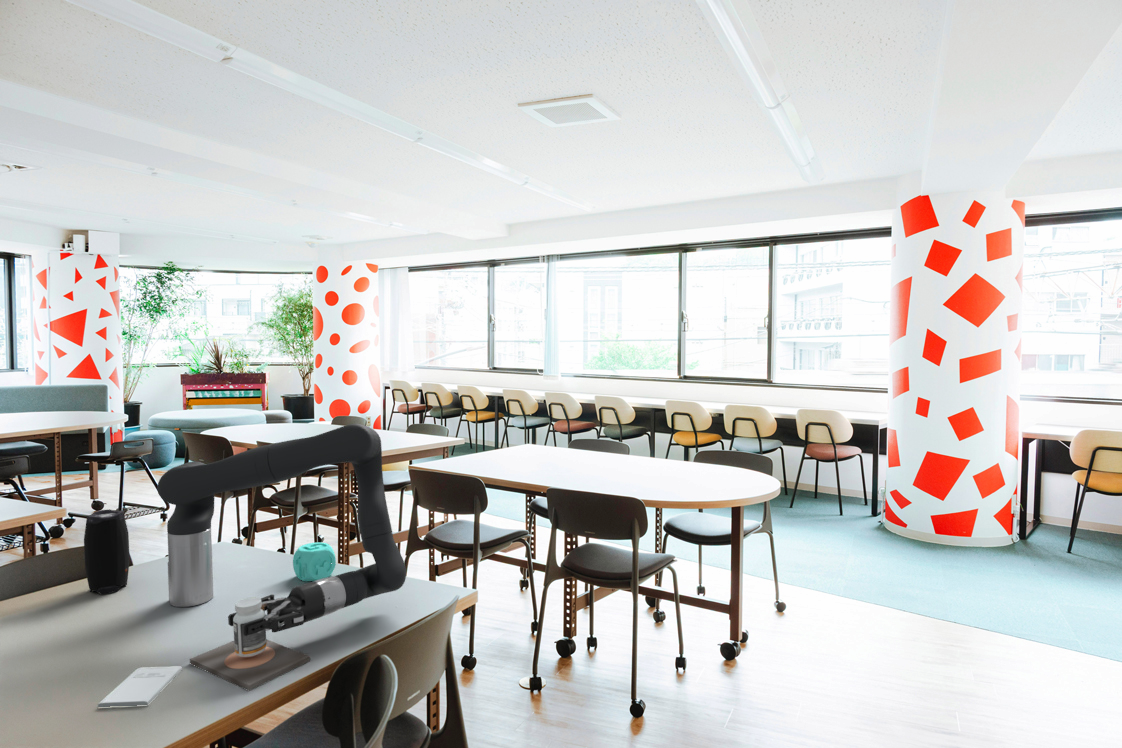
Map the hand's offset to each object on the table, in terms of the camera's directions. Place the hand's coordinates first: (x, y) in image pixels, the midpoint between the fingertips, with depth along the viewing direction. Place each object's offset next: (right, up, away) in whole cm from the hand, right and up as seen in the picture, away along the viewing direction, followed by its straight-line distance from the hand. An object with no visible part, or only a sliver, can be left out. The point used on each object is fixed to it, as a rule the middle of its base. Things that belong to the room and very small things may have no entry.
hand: (236, 625), depth 129 cm
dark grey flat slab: (+2, -8, +2) cm, 9 cm away
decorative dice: (-3, -6, +49) cm, 49 cm away
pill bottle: (+2, -6, +2) cm, 7 cm away
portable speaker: (-52, -6, +40) cm, 66 cm away
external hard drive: (-14, -9, -7) cm, 18 cm away
